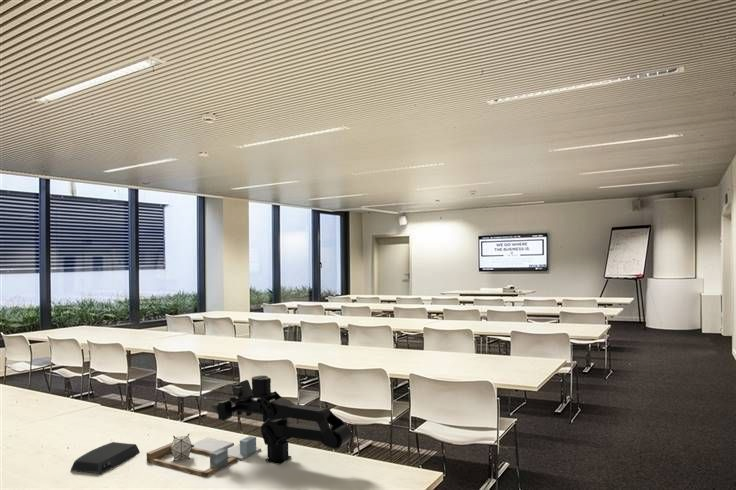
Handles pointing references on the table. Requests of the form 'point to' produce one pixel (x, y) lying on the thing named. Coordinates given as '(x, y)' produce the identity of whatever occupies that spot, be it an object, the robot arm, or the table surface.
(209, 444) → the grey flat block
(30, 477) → the table surface
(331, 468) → the table surface
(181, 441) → the game die
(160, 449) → the wooden tray frame
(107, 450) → the external hard drive
